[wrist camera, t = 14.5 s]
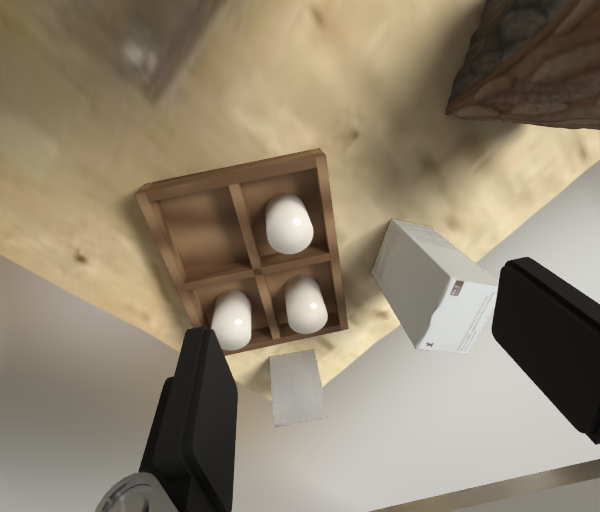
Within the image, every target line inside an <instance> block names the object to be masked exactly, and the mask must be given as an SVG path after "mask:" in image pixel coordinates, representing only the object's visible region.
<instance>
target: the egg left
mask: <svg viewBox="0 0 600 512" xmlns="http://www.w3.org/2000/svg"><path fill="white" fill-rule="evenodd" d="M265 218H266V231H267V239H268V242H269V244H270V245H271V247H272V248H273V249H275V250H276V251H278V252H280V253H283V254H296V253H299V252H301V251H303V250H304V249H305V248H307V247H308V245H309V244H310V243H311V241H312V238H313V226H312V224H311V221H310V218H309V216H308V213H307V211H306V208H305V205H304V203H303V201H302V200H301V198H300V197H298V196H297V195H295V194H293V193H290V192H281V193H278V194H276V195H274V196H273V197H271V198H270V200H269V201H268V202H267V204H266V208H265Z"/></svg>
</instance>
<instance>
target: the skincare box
mask: <svg viewBox="0 0 600 512" xmlns="http://www.w3.org/2000/svg"><path fill="white" fill-rule="evenodd" d="M371 274H372V275H373V277H374V279H375V281H376V282H377V284H378V286H379V287H380V289H381V291H382V292H383V294H384V296H385V297H386V299H387V301H388V302H389V304H390V306H391V308H392V309H393V311H394V313H395V314H396V316H397V318H398V320H399V321H400V323H401V325H402V326H403V328H404V330H405V331H406V333H407V335H408V337H409V338H410V340H411V342H412V343H413V345H414V347H415V349H420V350H430V351H440V352H449V353H456V354H464V355H466V354H468V352H469V350H470V349H471V347H472V345H473V343H474V342H475V340H476V338H477V336H478V335H479V333H480V331H481V329H482V327H483V326H484V324H485V322H486V321H487V319H488V317H489V315H490V314H491V311H492V310H493V309H494V307H495V304H496V298H497V291H498V285H499V282H498V281H497V280H496V279H495V278H493V277H492V276H491V275H490V274H488V273H487V272H486V271H485V270H484V269H483V268H481V267H480V266H478V264H476V263H475V262H474V261H472V260H471V259H470V258H469V257H468V256H466V255H465V254H464V253H463V252H462V251H460V250H459V249H458V248H457V247H455V246H454V245H453V244H452V243H451V242H449V241H448V240H447V239H446V238H445V237H443V236H442V235H441V234H440V233H438V232H437V231H436V230H435V229H434V228H432V227H429V226H424V225H419V224H414V223H409V222H404V221H399V220H395V219H391V221H390V223H389V226H388V229H387V231H386V234H385V237H384V239H383V242H382V245H381V247H380V250H379V253H378V255H377V258H376V261H375V264H374V267H373V269H372V272H371Z"/></svg>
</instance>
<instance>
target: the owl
mask: <svg viewBox="0 0 600 512" xmlns="http://www.w3.org/2000/svg"><path fill="white" fill-rule="evenodd" d="M445 114H446V115H451V114H454V115H456V116H457V117H458V118H461V119H472V120H500V121H504V122H514V123H524V124H532V125H538V126H546V127H554V128H567V129H581V128H586V129H597V130H600V0H487V2H486V4H485V7H484V10H483V13H482V17H481V22H480V25H479V28H478V30H477V31H476V32H475V33H474V34H473V35H472V38H471V44H470V49H469V51H468V53H467V55H466V57H465V62H464V65H463V66H462V68H461V69H460V70H459V72H458V73H457V75H456V77H455V80H454V83H453V87H452V94H451V97H450V99H449V102H448V105H447V107H446V112H445Z"/></svg>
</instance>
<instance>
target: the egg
mask: <svg viewBox="0 0 600 512" xmlns="http://www.w3.org/2000/svg"><path fill="white" fill-rule="evenodd" d="M251 305H252V303H251V299H250V297H249V295H248V294H247V293H245V292H244V291H241V290H238V289H229V290H225V291H223V292H222V293H220V294H219V295H218V297H217V299H216V302H215V308H214V314H213V320H212V326H211V329H213V330H214V332H215V334H216V336H217V339H218V341H219V344H220V346H221V349H223V350H237V349H240V348H242V347H244V346H246V345H247V344H248V342H249V341H250V339H251Z"/></svg>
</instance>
